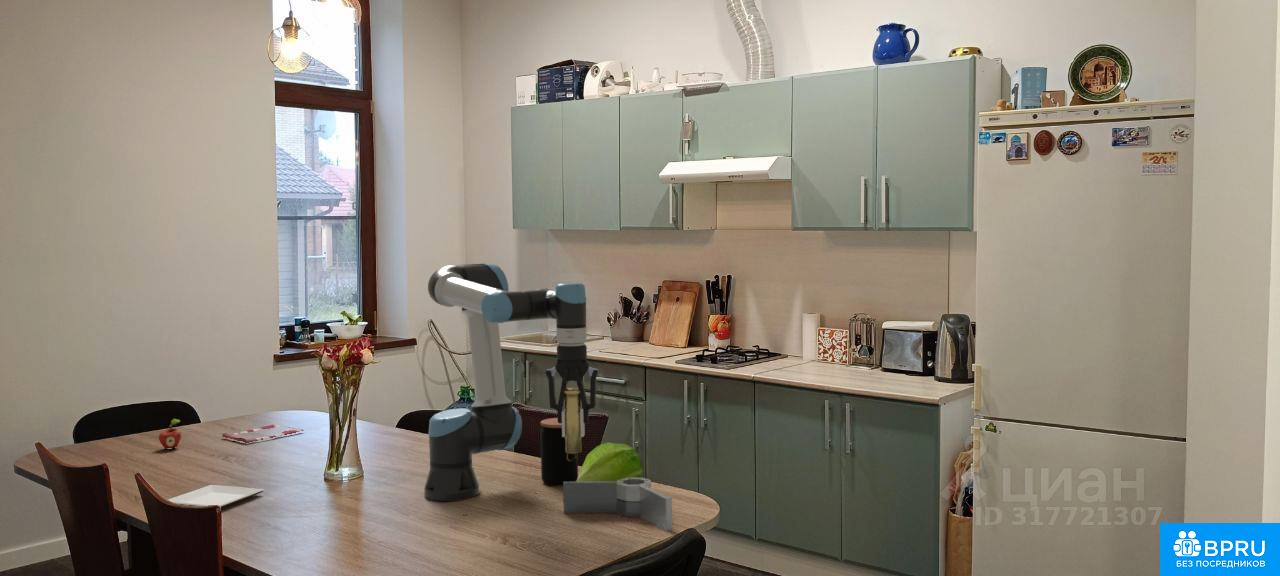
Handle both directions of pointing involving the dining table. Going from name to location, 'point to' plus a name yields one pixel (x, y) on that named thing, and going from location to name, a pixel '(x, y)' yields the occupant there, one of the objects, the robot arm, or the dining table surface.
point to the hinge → (619, 499)
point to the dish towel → (260, 437)
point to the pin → (572, 420)
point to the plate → (216, 496)
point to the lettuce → (611, 463)
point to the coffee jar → (556, 455)
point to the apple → (170, 436)
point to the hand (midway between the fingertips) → (573, 435)
